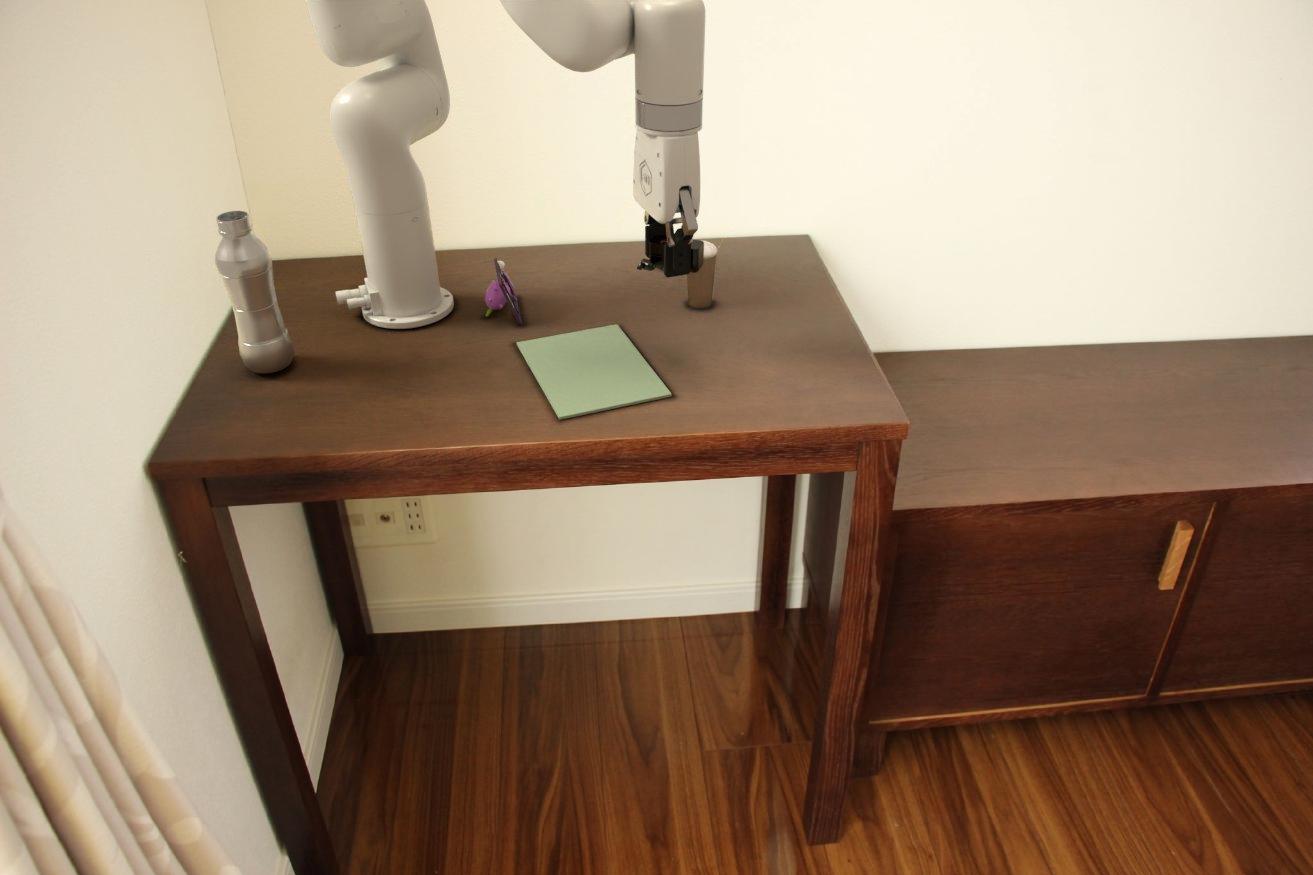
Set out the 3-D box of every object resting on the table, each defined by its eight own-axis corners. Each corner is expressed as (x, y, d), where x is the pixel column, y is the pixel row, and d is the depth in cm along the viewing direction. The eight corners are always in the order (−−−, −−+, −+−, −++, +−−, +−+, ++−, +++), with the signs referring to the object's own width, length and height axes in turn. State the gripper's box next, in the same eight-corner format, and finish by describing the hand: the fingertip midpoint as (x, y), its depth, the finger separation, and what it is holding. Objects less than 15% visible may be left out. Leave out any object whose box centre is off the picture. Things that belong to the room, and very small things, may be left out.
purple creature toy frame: (506, 281, 130) (501, 255, 138) (470, 297, 131) (467, 270, 138) (527, 322, 134) (521, 295, 142) (492, 337, 134) (488, 309, 142)
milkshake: (719, 312, 137) (720, 244, 132) (681, 309, 138) (681, 242, 132) (723, 298, 141) (725, 232, 135) (686, 295, 142) (687, 229, 136)
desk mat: (559, 420, 114) (559, 417, 114) (516, 344, 130) (516, 342, 130) (671, 396, 118) (671, 393, 118) (617, 326, 134) (617, 323, 134)
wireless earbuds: (649, 258, 122) (649, 233, 121) (704, 266, 120) (705, 241, 119) (636, 273, 119) (636, 247, 117) (692, 281, 117) (693, 255, 115)
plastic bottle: (248, 384, 122) (206, 230, 111) (240, 361, 127) (199, 212, 116) (302, 372, 124) (266, 220, 113) (292, 350, 129) (256, 202, 118)
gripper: (611, 97, 115) (614, 244, 125) (666, 139, 102) (665, 298, 112) (671, 91, 118) (669, 235, 128) (732, 131, 104) (725, 288, 114)
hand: (667, 263), depth 120 cm, fingers closed on wireless earbuds, 5 cm apart
